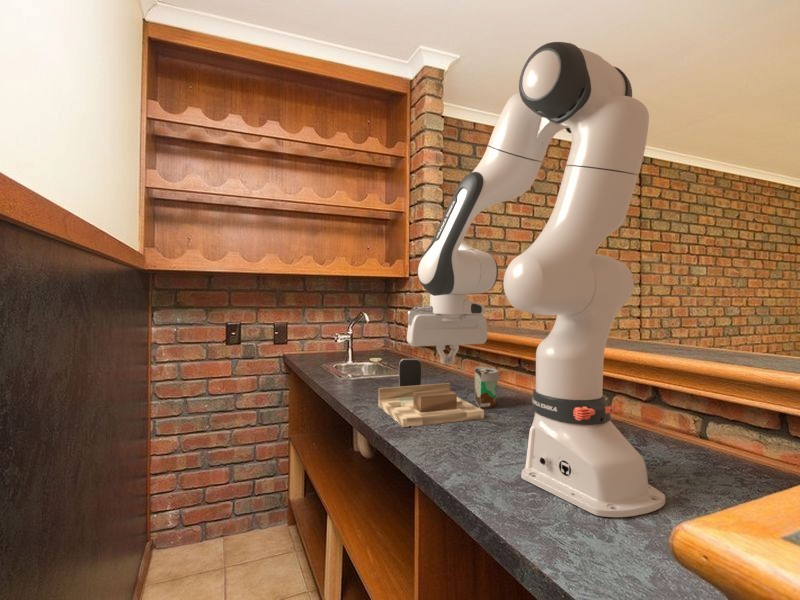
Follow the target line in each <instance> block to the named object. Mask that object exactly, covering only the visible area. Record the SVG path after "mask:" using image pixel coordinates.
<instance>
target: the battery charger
mask: <svg viewBox="0 0 800 600" xmlns="http://www.w3.org/2000/svg"><path fill="white" fill-rule="evenodd" d="M398 382H399V386H398V387H401V386H414V385H422V363H421V361H420V359H418V358H412V357H411V358H408V357H407V358H402V359H400V361H399V364H398Z"/></svg>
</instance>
